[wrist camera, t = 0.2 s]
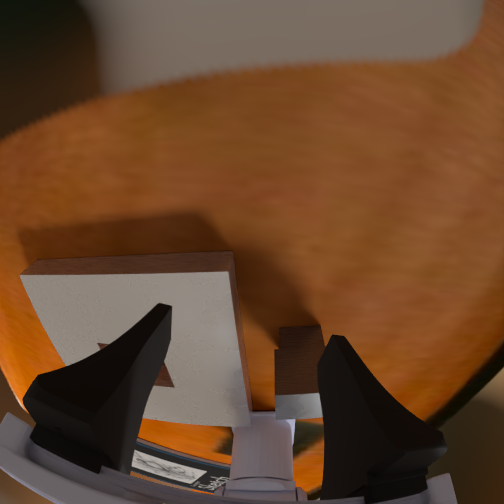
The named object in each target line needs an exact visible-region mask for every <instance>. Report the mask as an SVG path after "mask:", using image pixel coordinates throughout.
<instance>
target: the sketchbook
mask: <svg viewBox="0 0 504 504" xmlns="http://www.w3.org/2000/svg"><path fill="white" fill-rule="evenodd" d="M230 468H231V465H228V464H223V463H219V462H214V461H210V460H206V459H202V458H199V457H195V456H191V455H188V454H184V453H181V452H178V451H174V450H171V449H168V448H165V447H162V446H159V445H156V444H153V443H150V442H148V441H145V440H142V439H140V438H137V442H136V446H135V451H134V456H133V461H132V466H131V471H133V472H136V473H139V474H142V475H145V476H148V477H151V478H154V479H157V480H161V481H164V482H168V483H171V484H175V485H179V486H183V487H187V488H191V489H195V490H200V491H205V492H209V493H214V492H215V491H216V490H217V489H219V487H221V486H225V487H226V480H229V478H230Z"/></svg>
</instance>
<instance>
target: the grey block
mask: <svg viewBox="0 0 504 504" xmlns="http://www.w3.org/2000/svg"><path fill="white" fill-rule="evenodd" d="M279 335H280V349H275V350H274V354H275V415H276V420H289V419H306V418H318V417H323V416H322V409H321V403H320V396H319V390H318V379H317V364H318V362H319V360H320V358H321V356H322V354H323V352H324V350H325V348H326V347H325V345H324V340H323V335H322V330H321V325H319V326H303V327H283V328H279Z"/></svg>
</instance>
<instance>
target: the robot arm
mask: <svg viewBox="0 0 504 504" xmlns="http://www.w3.org/2000/svg"><path fill="white" fill-rule="evenodd" d="M171 327H172V306H171V305H167V304H162V303H158V304H156V305H155V306H154V307H153V308H152V309H151V310H150V311H149V312H148V313H147V314H146V315H145V316H144V317H143V318H142V319H141V320H139V321H138V322H137V323H136V324H135V325H134V326H132V327H131V328H130V329H129V330H128V331H126V332H125V333H124V334H122V335H121V336H120V337H118V338H117V339H116V340H114V341H113V342H112V343H110V344H109V345H107V346H106V347H104V348H102V349H101V350H99V351H97V352H96V353H94V354H92V355H90V356H88V357H86V358H84V359H82V360H80V361H78V362H76V363H73V364H71V365H68V366H66V367H63V368H60V369H57V370H54V371H51V372H47V373H44V374H40V375H38V376H37V377H36V378H35V380H34V381H33V382H32V384H31V385H30V387H29V389H28V390H27V392H26V394H25V395H24V397H23V404H24V406H25V408H26V409H27V411H28V412H29V414H30V415H31V417H32V418H33V419H34V421H35V422H36V426H35V427H34V429H33V428H32V427H31V426H29V425H28V424H27V423H25V422H23V421H22V420H20V419H19V418H17V417H15V416H14V415H12V414H11V413H7V414H6V416H5V417H4V419H3V421H2V423H1V425H0V468H1V469H2V470H3V471H5V472H6V473H7V474H9V475H10V476H11V477H13V478H14V479H15V480H17V481H19V482H20V483H22V484H23V485H25V486H26V487H28V488H30V489H31V490H33V491H34V492H36V493H38V494H39V495H41V496H43V497H45V498H47V499H48V500H50V501H52V502H54V503H56V504H163V503H165V504H457V500H456V496H455V492H454V489H453V485H452V481H451V478H450V474H449V473H446V474H443V475H440V476H436V477H433V478H430V479H428V480H426V478H425V475H427V474H428V468H427V467H428V466H429V465H431V464H432V463H433V462H435V461H436V460H437V459H439V458H440V457H441V456H442V455H443V454H444V453H445V452H446V450H447V444H446V442H445V439H444V436H443V433H442V432H441V431H439V430H437V429H435V428H434V427H432V426H430V425H428V424H427V423H425V422H424V421H422V420H421V419H419V418H418V417H416V416H415V415H414V414H412V413H411V412H410V411H408V410H407V409H406V408H405V407H404V406H402V405H401V404H400V403H399V402H398V401H397V400H396V399H395V398H394V397H393V396H392V395H391V394H390V393H389V392H388V391H387V390H386V389H385V388H384V387H383V386H382V385H381V384H380V383H379V381H378V380H377V379H376V378H375V377H374V376H373V374H372V373H371V372H370V370H369V369H368V368H367V367H366V365H365V364H364V363H363V361H362V360H361V358H360V357H359V356H358V354H357V353H356V352H355V350H354V349H353V347H352V346H351V345H350V343H349V342H348V340H347V339H346V338H345V337H344V336H339V335H332V336H331V338H330V340H329V342H328V344H327V346H326V348H325V350H324V352H323V354H322V356H321V358H320V360H319V362H318V364H317V379H318V390H319V396H320V403H321V409H322V416H323V423H324V470H323V482H322V490H321V497H320V500H316V501H307V494H306V492H305V491H304V490H303V489H302V488H301V487H296V488H295V481H293V456H292V444H293V441H294V430H295V419H289V420H276V415H275V411H270V412H252V424H251V427H232V431H233V434H234V439H233V449H232V459H231V468H230V478H229V480H226V487H225V486H221V487H219V489H217V490H216V491H215V492H214V495H211V494H204V493H199V492H193V491H188V490H183V489H179V488H174V487H170V486H166V485H161V484H158V483H154V482H150V481H147V480H144V479H140V478H137V477H133V476H131V475H130V471H131V466H132V461H133V456H134V451H135V446H136V442H137V437H138V433H139V429H140V425H141V422H142V418H143V414H144V411H145V407H146V404H147V401H148V398H149V395H150V393H151V391H152V388H153V386H154V384H155V381H156V379H157V377H158V374H159V372H160V370H161V367H162V365H163V363H164V360H165V358H166V355H167V351H168V348H169V344H170V341H171Z"/></svg>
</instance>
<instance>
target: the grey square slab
mask: <svg viewBox="0 0 504 504" xmlns="http://www.w3.org/2000/svg"><path fill="white" fill-rule="evenodd" d="M20 278H21V280H22V282H23V285H24V287H25V289H26V292H27V294H28V296H29V298H30V300H31V303H32V305H33V307H34V309H35V311H36V313H37V315H38V317H39V319H40V321H41V323H42V325H43V327H44V329H45V330H46V332H47V334H48V336H49V338H50V340H51V341H52V343H53V345H54V347H55V348H56V350H57V352H58V353H59V355H60V357H61V358H62V360H63V362H64V363H65V365H66V366H68V365H71V364H73V363H76V362H78V361H80V360H82V359H84V358H86V357H88V356H90V355H92V354H94V353H96V352H97V351H99V350H101V349H102V348H104V347H106V346H107V345H109V344H110V343H112V342H113V341H114V340H116V339H117V338H118V337H120V336H121V335H122V334H124V333H125V332H126V331H128V330H129V329H130V328H131V327H132V326H134V325H135V324H136V323H137V322H138V321H139V320H141V319H142V318H143V317H144V316H145V315H146V314H147V313H148V312H149V311H150V310H151V309H152V308H153V307H154V306H155V305H156V304H158V303H162V304H167V305H171V306H172V327H171V341H170V344H169V348H168V351H167V355H166V358H165V360H164V362H165V364H163V365H162V367H161V370H160V372H159V374H158V377H157V379H156V381H155V384H154V386H153V388H152V391H151V393H150V395H149V398H148V401H147V404H146V407H145V411H144V414H143V418H147V419H154V420H161V421H168V422H177V423H186V424H197V425H210V426H230V427H251V424H252V408H253V405H252V398H251V391H250V383H249V376H248V368H247V361H246V353H245V345H244V338H243V330H242V322H241V314H240V306H239V297H238V289H237V280H236V272H235V263H234V255H233V251H213V252H191V253H170V254H148V255H127V256H105V257H84V258H64V259H43V260H36V261H35V262H34V263H32V264H31V265H30V266H29V267H28V268H27V269H26V270H24V271H23V272H22V273H21V274H20Z"/></svg>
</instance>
